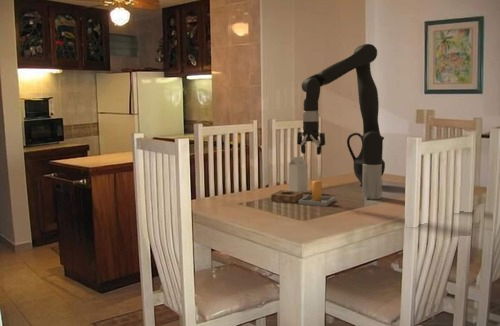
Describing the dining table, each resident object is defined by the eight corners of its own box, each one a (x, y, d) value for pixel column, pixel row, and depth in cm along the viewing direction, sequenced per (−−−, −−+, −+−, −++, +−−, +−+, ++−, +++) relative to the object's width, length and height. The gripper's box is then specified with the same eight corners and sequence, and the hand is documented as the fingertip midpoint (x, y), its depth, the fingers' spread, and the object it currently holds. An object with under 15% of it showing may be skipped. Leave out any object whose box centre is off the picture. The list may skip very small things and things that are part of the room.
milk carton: (288, 192, 270) (288, 156, 267) (298, 190, 274) (298, 155, 271) (297, 194, 264) (297, 158, 262) (307, 192, 268) (307, 156, 266)
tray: (334, 202, 244) (334, 196, 244) (326, 207, 232) (326, 202, 232) (307, 199, 250) (307, 194, 249) (298, 205, 238) (298, 200, 237)
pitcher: (385, 189, 273) (386, 134, 269) (346, 188, 277) (346, 134, 273) (383, 183, 290) (384, 131, 286) (346, 182, 294) (347, 131, 290)
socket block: (303, 199, 250) (303, 191, 250) (294, 204, 239) (294, 196, 239) (280, 197, 255) (280, 190, 255) (271, 202, 245) (271, 194, 244)
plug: (322, 201, 242) (322, 181, 240) (319, 203, 238) (319, 182, 236) (313, 200, 244) (313, 180, 242) (310, 202, 240) (310, 181, 238)
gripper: (327, 120, 240) (327, 154, 242) (302, 119, 249) (302, 152, 251) (319, 121, 234) (319, 155, 236) (294, 120, 243) (294, 153, 245)
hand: (311, 153), depth 244 cm, fingers open, 8 cm apart
